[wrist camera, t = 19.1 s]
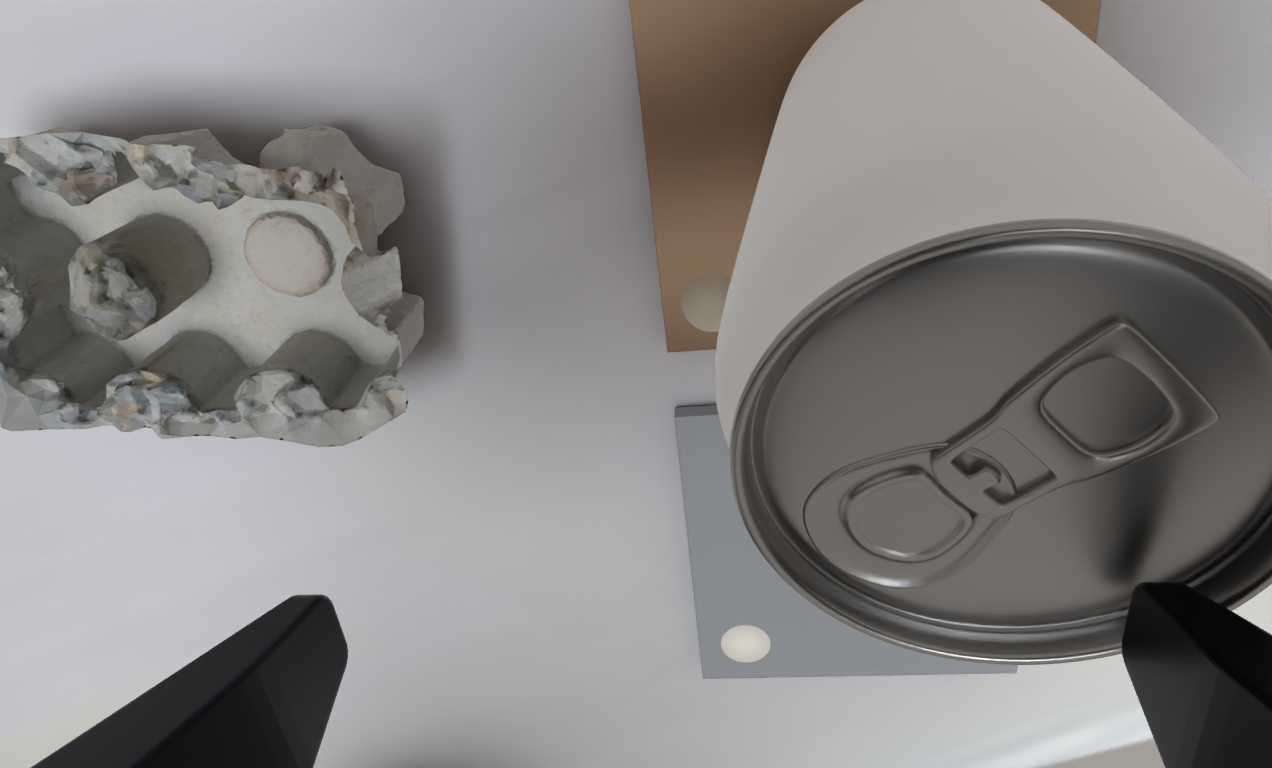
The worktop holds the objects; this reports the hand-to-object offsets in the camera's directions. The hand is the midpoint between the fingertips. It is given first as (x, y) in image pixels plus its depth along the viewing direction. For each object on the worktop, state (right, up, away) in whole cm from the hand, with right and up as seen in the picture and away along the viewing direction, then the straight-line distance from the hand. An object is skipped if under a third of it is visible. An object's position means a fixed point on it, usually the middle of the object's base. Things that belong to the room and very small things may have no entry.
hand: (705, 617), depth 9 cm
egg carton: (-13, +9, +12) cm, 20 cm away
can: (+6, +8, +9) cm, 13 cm away
